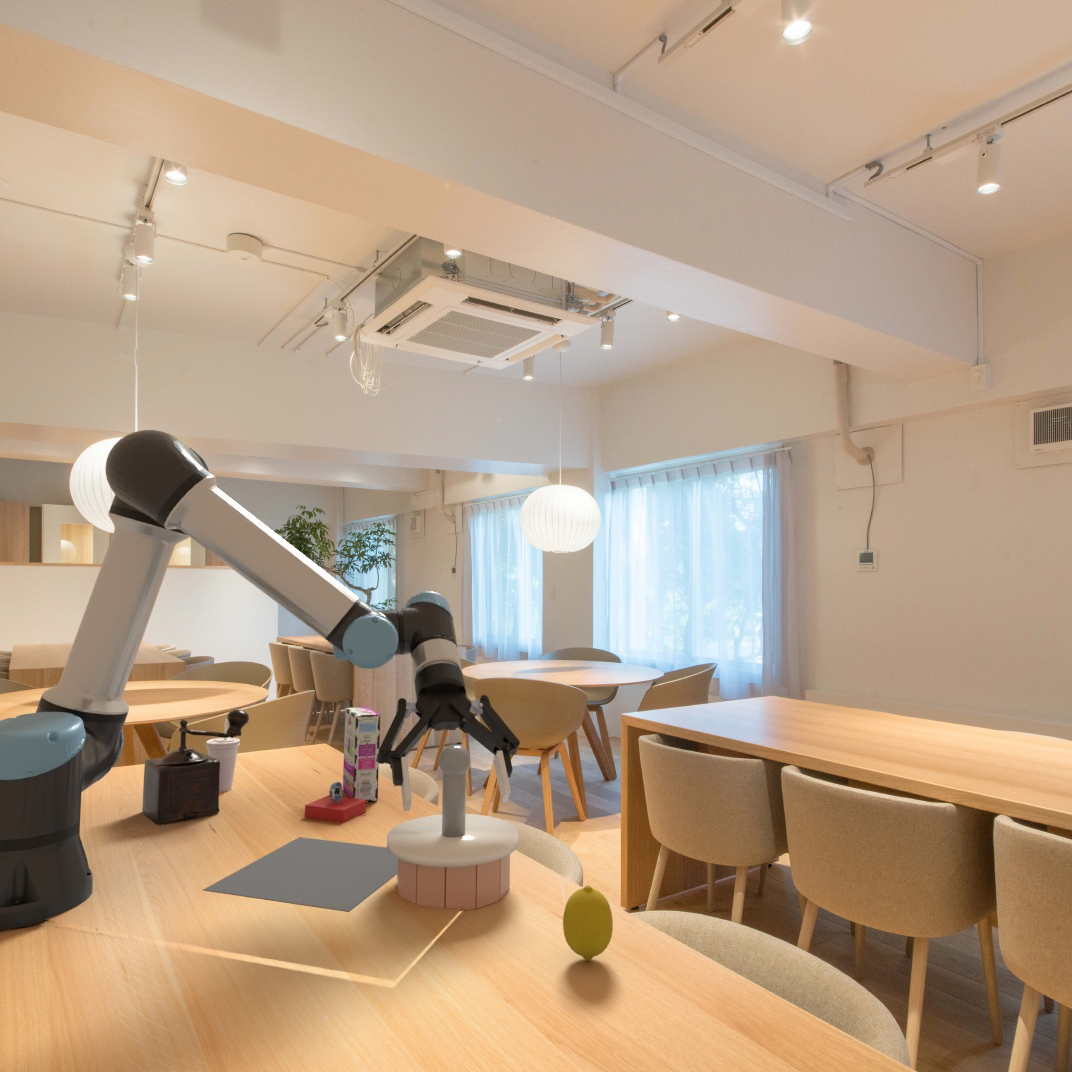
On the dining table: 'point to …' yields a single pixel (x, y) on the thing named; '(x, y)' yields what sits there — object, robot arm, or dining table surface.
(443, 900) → the bowl
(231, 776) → the smoothie
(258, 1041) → the dining table surface
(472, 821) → the lid
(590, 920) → the lemon
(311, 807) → the red rectangular block
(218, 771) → the coffee grinder
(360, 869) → the mat
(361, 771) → the candy bar box
